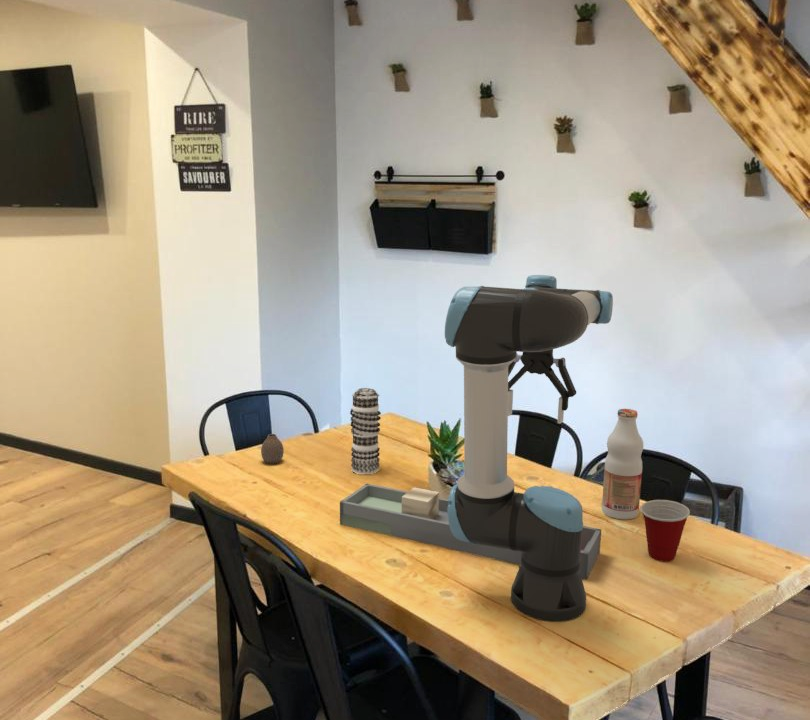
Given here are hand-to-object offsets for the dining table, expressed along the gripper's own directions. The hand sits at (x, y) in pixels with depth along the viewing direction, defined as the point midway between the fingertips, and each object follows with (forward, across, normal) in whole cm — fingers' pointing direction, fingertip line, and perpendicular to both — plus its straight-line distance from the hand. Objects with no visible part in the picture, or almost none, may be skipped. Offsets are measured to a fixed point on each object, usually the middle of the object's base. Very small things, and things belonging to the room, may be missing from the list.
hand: (534, 418), depth 193 cm
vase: (+26, +82, +1) cm, 86 cm away
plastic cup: (+26, -35, +10) cm, 44 cm away
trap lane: (+26, +9, +22) cm, 35 cm away
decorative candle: (+26, +54, -7) cm, 60 cm away
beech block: (+23, +21, +23) cm, 38 cm away
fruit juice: (+26, -21, -11) cm, 35 cm away
